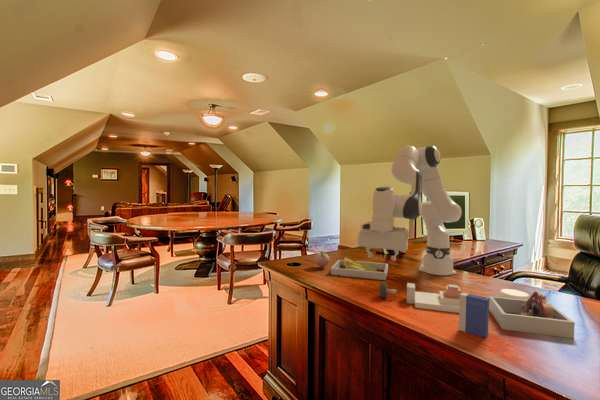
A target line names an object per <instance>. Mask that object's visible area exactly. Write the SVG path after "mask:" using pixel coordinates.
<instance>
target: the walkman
mask: <svg viewBox="0 0 600 400" xmlns="http://www.w3.org/2000/svg"><path fill="white" fill-rule="evenodd" d="M461 293H462V294H460V301H459V305H460V306H459V313H458V314H459V315H458V331H462V332H463V333H469V334H471V335H475V336H478V337H481V338H486V339H487V337H488V336H489V321H490V317H489V315H490V310H489V297H486V296H485V295H481V296H480V295H475V294H471V293H466V292H461Z"/></svg>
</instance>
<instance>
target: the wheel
mask: <svg viewBox="0 0 600 400" xmlns="http://www.w3.org/2000/svg"><path fill="white" fill-rule="evenodd" d="M379 284H380V285H379V298H382V299H383V298H384V299H386V298H387V297H388V293H390V294H397V292H398V291H397V290H398V289H395V288H394V289H392V288H391V289H390V288H388V282H387V283H386V282H380V283H379Z"/></svg>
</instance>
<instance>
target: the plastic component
mask: <svg viewBox="0 0 600 400" xmlns="http://www.w3.org/2000/svg"><path fill="white" fill-rule="evenodd" d="M343 260H344V266H345V267H344V266H343V267H344V269H351V270H362V271H373V272H378V269H376V268H374V267H371V266H368V265H365V264H362V263H360V262H357V261H356V260H354V259H351V258H349V257H345V256H344V258H343Z"/></svg>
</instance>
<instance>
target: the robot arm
mask: <svg viewBox="0 0 600 400" xmlns="http://www.w3.org/2000/svg"><path fill="white" fill-rule="evenodd" d="M441 157H442V156H441V152H440V150H439V148H438V147H436V146H435V145H428V146H424V147H418V148H416V147H415V146H413V145H404V146H402V147H401V148H400V149H399V150H398V152H397V154H396V155H395V157H394V159H393V162H392V163H391V164H392V165H391V174H392V176H393V177H394V179H396V180H397V181H398V182H400V183H404V184H407V185H410V186H411V187H410V188H411V189H410V194H406V195H403V194H401V195H398V194H395V192H394V191H395V190H394V188H393V187H390V186H378V187H376V188H375V189H374V190H373V195H372V196H373V197H372V205H371V206H372V207H371V208H372V209H371V210H372V212H373V213H372V217H371V221H367V222H366V223H362V224H360V230H359V231H358V235H357V245H358V247H360V248H361V247H363V248H365V251H366V253H367V257H368V259H372V258H374V257H373V256H374V254H373V253H372V252H371V251H370V250H371V248H373V249H379V250H380V249H382V250H392V251H393V252H394V255H391V259H390V260H391V261H393V262H396V259H397V258H396V257H397V256H398V254H399V252H402V251H403V252H406V251H407V250H408V248H409V244H408V243H409V241H408V238H409V237H410V231H409V230H408V229H407V228H406V227H403V226H402V227H399V226H395V218H397V219H398V218H400V219H407V220H412V221H413V220H416V219H417V218H419V217H420V218H422V220H423V222H424V224H425V228H426V236H427V237H426V238H427V239H426V241H427V242H426V244H427V245H426V247H425V252H426V253H425V254H423V256H422V257H421V260H422V261H421V262H422V263H421V266H420V267H419V268H418V271H419V272H423V273H426V274H430V275H434V276H435V275H437V276H451V275H457V271H456V270H455V269H454V259H453V256H451V247H450V232H449V230H448V229H447V228H446V227H445V224H444V223H447V224H448V223H453V222H454V223H455V222H458V221H459V220H460V218H462V215H463V212H462V211H463V210H462V207H461V206H460V205H459V204H458V203H456V202H455V201H454V200H453V199H452V198H451V196H450V195H449V193H448V192H447V190H446V188H445V185H444V183H443V178H442V174H441V171H440V168H439V167H438V165H439V164H440V162H441ZM422 195H424V197H426V198H427V199H428V201H425V202H422Z"/></svg>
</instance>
